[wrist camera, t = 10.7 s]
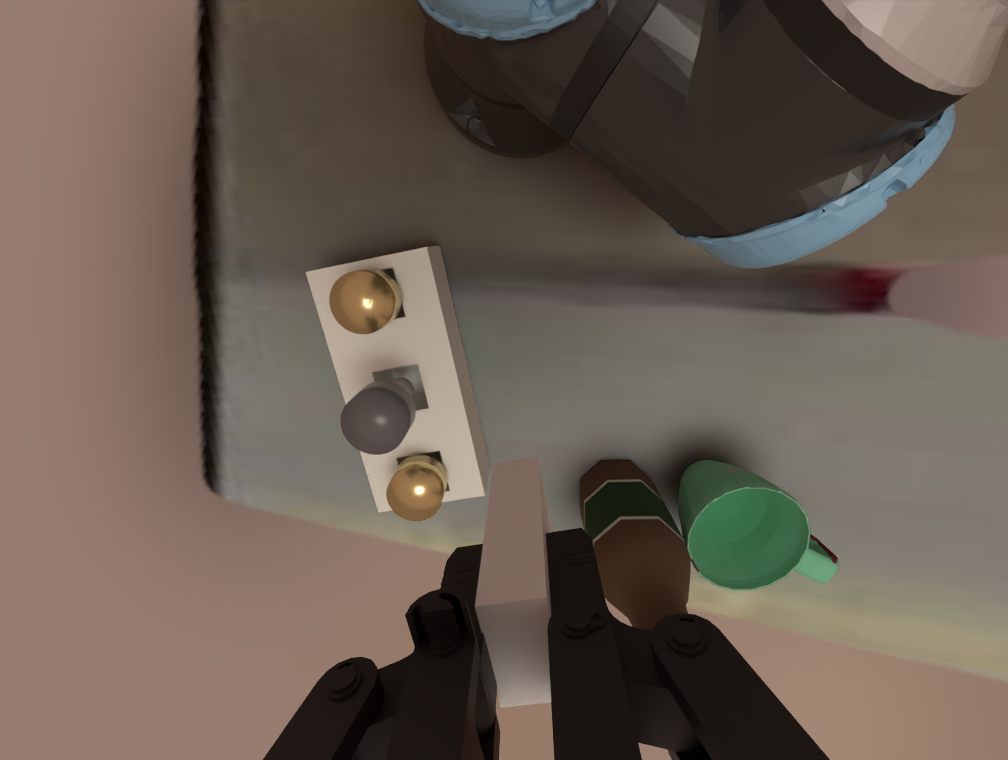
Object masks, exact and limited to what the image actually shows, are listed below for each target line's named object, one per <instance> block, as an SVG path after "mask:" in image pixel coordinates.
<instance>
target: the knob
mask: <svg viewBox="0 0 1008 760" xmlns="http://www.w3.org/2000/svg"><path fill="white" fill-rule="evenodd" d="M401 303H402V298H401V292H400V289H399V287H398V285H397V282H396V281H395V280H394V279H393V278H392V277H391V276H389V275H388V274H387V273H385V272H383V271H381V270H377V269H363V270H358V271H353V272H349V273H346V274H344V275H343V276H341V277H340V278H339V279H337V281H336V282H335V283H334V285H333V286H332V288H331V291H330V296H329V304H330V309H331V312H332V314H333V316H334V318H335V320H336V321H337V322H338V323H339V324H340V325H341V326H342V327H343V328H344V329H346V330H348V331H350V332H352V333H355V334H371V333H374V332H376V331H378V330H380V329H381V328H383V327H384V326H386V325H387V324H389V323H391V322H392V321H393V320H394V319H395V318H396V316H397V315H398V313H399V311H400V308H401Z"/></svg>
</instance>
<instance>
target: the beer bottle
mask: <svg viewBox="0 0 1008 760" xmlns="http://www.w3.org/2000/svg"><path fill="white" fill-rule="evenodd" d="M580 509H581V517H582V522H583V527H584V531H585V532H586V533H587V534H588V535H589V536H590V537H591V538H592V543H593V547H594V552H595V556H596V561H597V565H598V570H599V574H600V579H601V583H602V588H603V592H604V597H605V598H606V599H607V601H609V602H610V603H611V604H612V605H613V606H614V607H616V608H617V609H618V610H619V611H620V612H622V613H623V614H624V615H625V616H626V617H628V619H629V621H630V622H631V624H632V626H633V627H636V628H640V629H647V630H652V629H653V627H654V626H655V625H656V623H657V622H658V621H659V620H661V619H663V618H665V617H666V616H668V615H673V614H679V613H685V614H688V612H687V609H686V604H687V602H688V595H689V583H690V562H691V557H690V554H689V551H688V549H687V546H686V544H685V541H684V539H683V537H682V536H681V534H680V532H679V530H678V528H677V526H676V524H675V522H674V520H673V518H672V517H671V515H670V513H669V511H668V509H667V507H666V505H665V503H664V501H663V499H662V497H661V496H660V494H659V492H658V490H657V488H656V486H655V485H654V483H653V482H652V480H651V479H650V478H649V477H648V476H647V475H646V474H645V473H644V472H642V471H641V470H640V469H639V468H638V467H637V466H636V465H635V464H634V463H633V462H632V461H601V462H600V463H599V464H597V465H596V466H595V467H594V468H593V469H592V470H591V471H590V472H589V473H587V474H586V475H585V476H584V477H583V478H582V479H581V480H580Z"/></svg>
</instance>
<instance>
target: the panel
mask: <svg viewBox="0 0 1008 760" xmlns="http://www.w3.org/2000/svg"><path fill="white" fill-rule="evenodd" d="M363 269H377V270H381V271H383V272H385V273H387V274H388V275H389V276H391V277H392V278H393V279H394V280H395V281H396V282H397V285H398V287H399V289H400V292H401V298H402V303H401V308H400V311H399V313H398V315H397V316H396V318H395V319H394V320H393V321H392V322H391V323H389V324H387V325H386V326H384V327H383V328H381V329H380V330H378V331H376V332H374V333H371V334H355V333H352V332H350V331H348V330H346V329H344V328H343V327H342V326H341V325H340V324H339V323H338V322H337V321H336V320H335V318H334V316H333V314H332V312H331V309H330V304H329V296H330V291H331V288H332V286H333V285H334V283H335V282H336V281H337V279H339V278H340V277H341V276H343V275H344V274H346V273H349V272H353V271H358V270H363ZM306 275H307V278H308V281H309V285H310V288H311V291H312V295H313V298H314V301H315V304H316V308H317V311H318V314H319V318H320V321H321V324H322V328H323V331H324V334H325V337H326V341H327V344H328V347H329V351H330V354H331V357H332V360H333V364H334V367H335V370H336V374H337V377H338V380H339V383H340V387H341V390H342V393H343V397H344V400H345V403H346V404H347V403H348V402H349V401H350V400H351V399H352V398H353V397H354V396H355V395H356V394H357V393H358V392H359V391H361V390H362V389H363V388H364V387H365V386H366V385H368V384H370V383H372V382H375V381H390V382H391V381H392V380H393V379H395V378H399V377H402V378H406V379H408V380H409V381H410V382H411V383H412V384H413V387H414V394H413V396H412V399H413V401H414V404H415V410H416V413H415V419H414V422H413V424H412V426H411V427H410V429H409V431H408V432H407V434H406V436H405V438H404V439H403V441H402V442H401V444H400V445H399V446H398V447H397V448H396V449H394V450H393V451H391V452H389V453H386V454H381V455H372V454H367V453H364V452H362V451H360V453H361V456H362V459H363V462H364V466H365V469H366V472H367V476H368V479H369V482H370V485H371V489H372V492H373V495H374V499H375V502H376V505H377V509H378V512H384V511H390V510H392V509H391V508H390V506H389V504H388V501H387V497H386V491H387V487H388V484H389V483H390V481H391V479H392V477H393V475H394V473H395V472H396V470H397V468H398V466H399V465H400V463H401V462H402V461H403V460H405V459H406V458H408V457H410V456H414V455H419V454H423V453H429V452H435V451H440V453H441V457H442V461H441V465H442V466H443V467H444V469H445V471H446V473H447V477H448V482H447V487H446V490H445V494H444V497H443V500H442V502H447V501H453V500H460V499H466V498H472V497H479V496H485V492H486V486H487V479H488V473H489V466H490V465H489V461H488V456H487V452H486V448H485V443H484V439H483V434H482V430H481V426H480V421H479V417H478V412H477V408H476V403H475V399H474V395H473V390H472V386H471V381H470V377H469V373H468V368H467V364H466V359H465V355H464V351H463V346H462V342H461V337H460V333H459V329H458V324H457V320H456V315H455V311H454V307H453V302H452V298H451V293H450V289H449V285H448V280H447V276H446V271H445V267H444V262H443V258H442V254H441V249H440V245H439V246H429V247H423V248H418V249H414V250H409V251H404V252H399V253H395V254H390V255H385V256H380V257H375V258H371V259H366V260H361V261H356V262H352V263H347V264H342V265H337V266H332V267H328V268H323V269H318V270H313V271H308V272H306Z"/></svg>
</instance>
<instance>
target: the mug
mask: <svg viewBox="0 0 1008 760" xmlns="http://www.w3.org/2000/svg"><path fill="white" fill-rule="evenodd" d="M679 517H680V522H681V528H682V535H683V539H684V541H685V544H686V546H687V549H688V551H689V554H690V557H691V561H692V563H693V565H694V567H695V568H696V570H697V572H698V573H699V574H700V575H701V577H703V578H704V579H706V580H707V581H709V582H711V583H712V584H714V585H715V586H718V587H722V588H726V589H730V590H755V589H759V588H763V587H766V586H770V585H772V584H774V583H776V582H777V581H779V580H781V579H783V578H785V577H786V576H788V575H789V574H790V573H791V572H792V571H793V570H794V571H796V572H798V573H800V574H802V575H804V576H806V577H808V578H810V579H813V580H815V581H817V582H819V583H825V582H827V581H829V580H830V579H831V578H832V577H833V575H834V574H835V573H836V571H837V569H838V566H839V562H838V558H837V557H836V556H835V555H834V554H833V553H832V552H831V551H830V550H829V549H828V548H827V547H826V546H824V545H823V544H822V543H821V542H820V541H819V540H818V539H817V538H815V537H814V536H813V535H811V530H810V525H809V521H808V517H807V514H806V513H805V512H804V510H803V509H802V507H801V506H800V505H799V503H798V502H797V501H796V500H795V499H794V498H793V497H792V496H790V495H789V494H787V493H786V492H784V491H783V490H782V489H780V488H779V487H777V486H776V485H774V484H772V483H770V482H768V481H767V480H765V479H763V478H762V477H760V476H758V475H756V474H754V473H751V472H749V471H747V470H744V469H742V468H739V467H736V466H733V465H730V464H726V463H723V462H718V461H713V460H701V461H698V462H695V463H693V464H692V465H690V466H689V467H688V468H687V469H686V470H685V471H684V473H683V475H682V478H681V482H680V488H679Z"/></svg>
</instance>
